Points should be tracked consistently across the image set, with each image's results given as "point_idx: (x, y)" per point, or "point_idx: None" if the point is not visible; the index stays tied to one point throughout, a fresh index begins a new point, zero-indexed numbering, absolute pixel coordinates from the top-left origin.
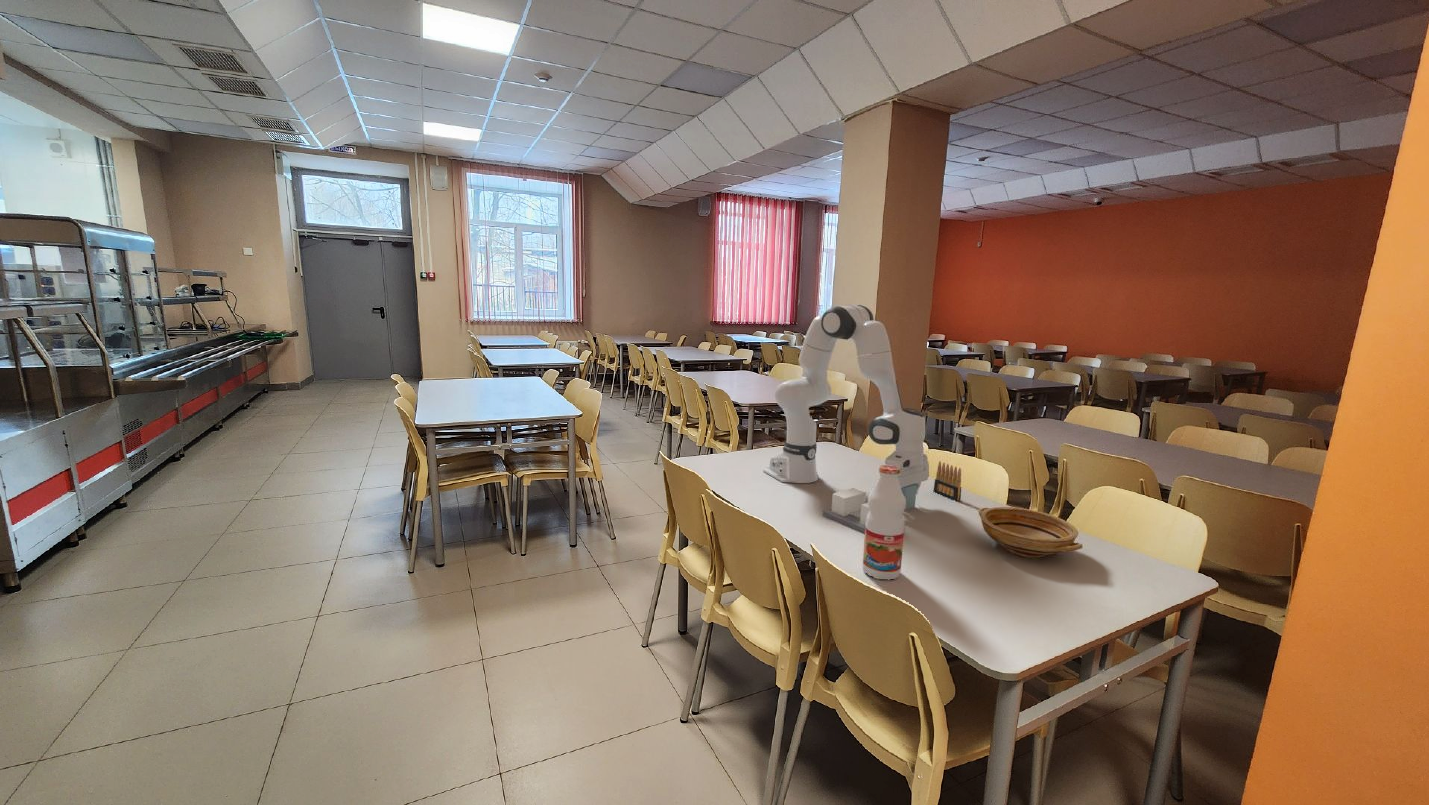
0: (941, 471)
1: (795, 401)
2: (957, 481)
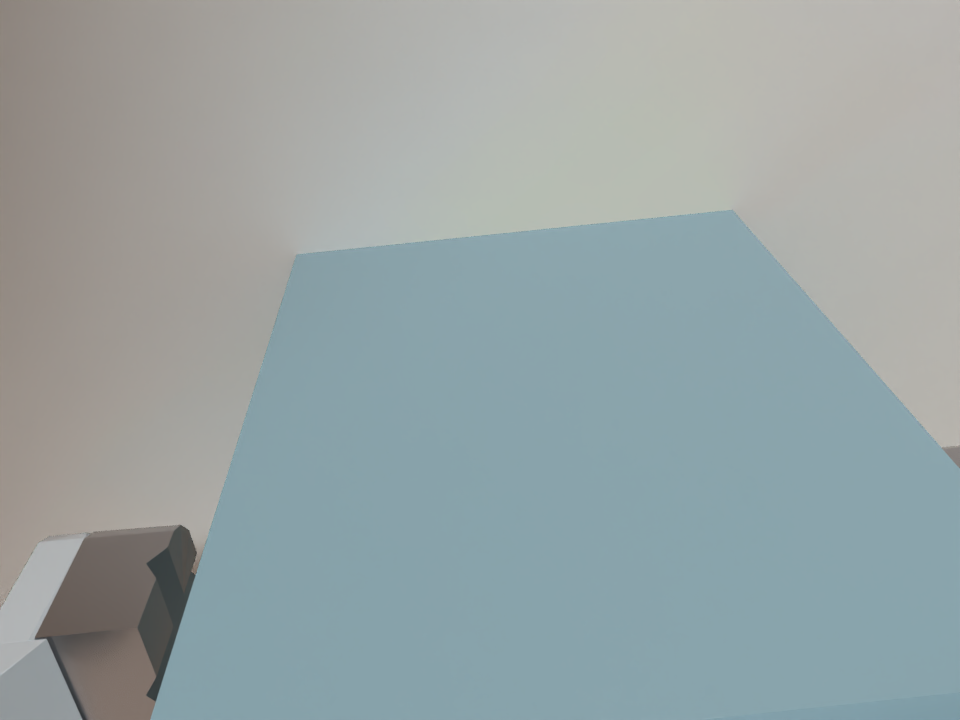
0: None
1: None
2: None
